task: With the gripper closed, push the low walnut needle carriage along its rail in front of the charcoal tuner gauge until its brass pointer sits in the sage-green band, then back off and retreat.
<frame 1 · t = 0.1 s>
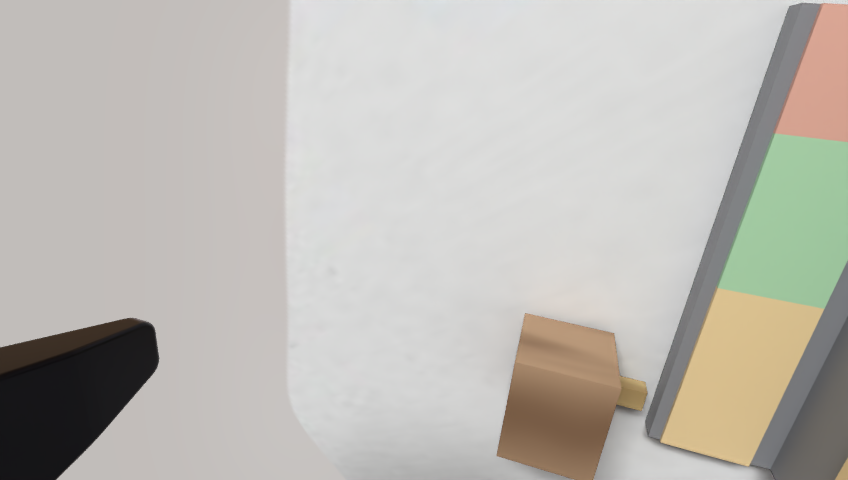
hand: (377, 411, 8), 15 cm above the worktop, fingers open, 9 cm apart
tuner gauge: (788, 266, 18), on the worktop
needle carriage: (577, 399, 21), point 2 cm above the worktop, slide at 0.0 cm
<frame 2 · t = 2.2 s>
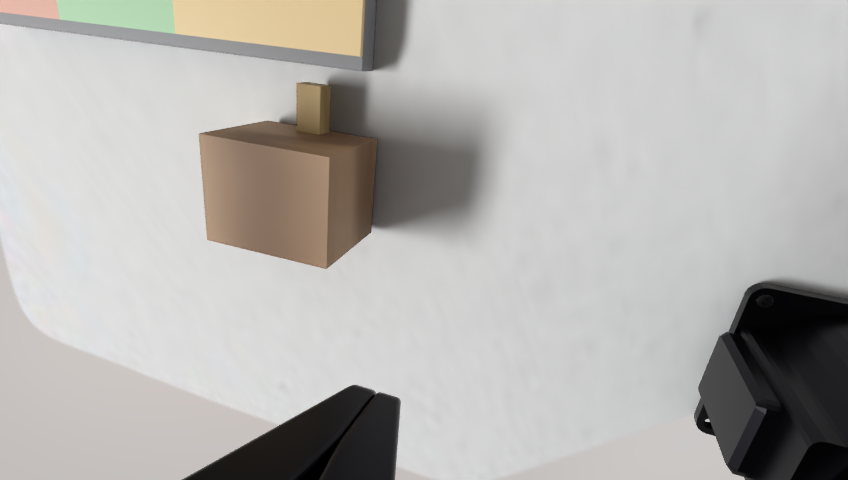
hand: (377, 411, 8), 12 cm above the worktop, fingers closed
needle carriage: (294, 165, 18), point 2 cm above the worktop, slide at 0.0 cm
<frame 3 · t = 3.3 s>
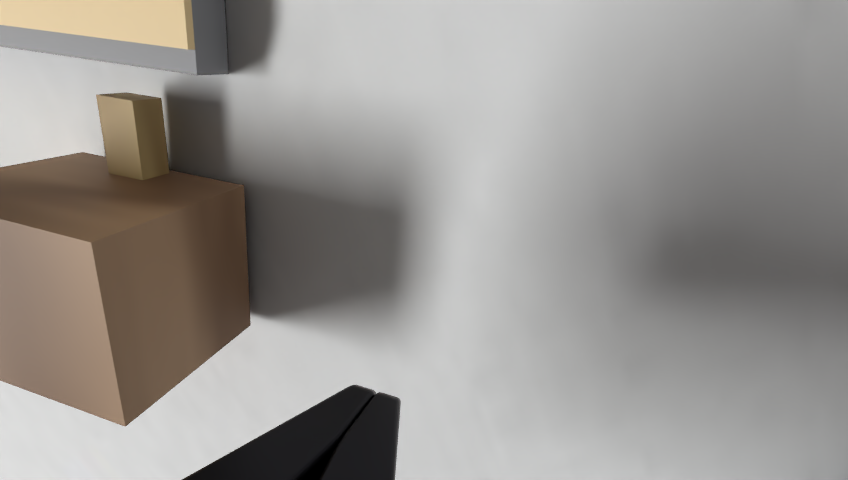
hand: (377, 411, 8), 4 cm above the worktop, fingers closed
needle carriage: (94, 233, 11), point 2 cm above the worktop, slide at 0.0 cm
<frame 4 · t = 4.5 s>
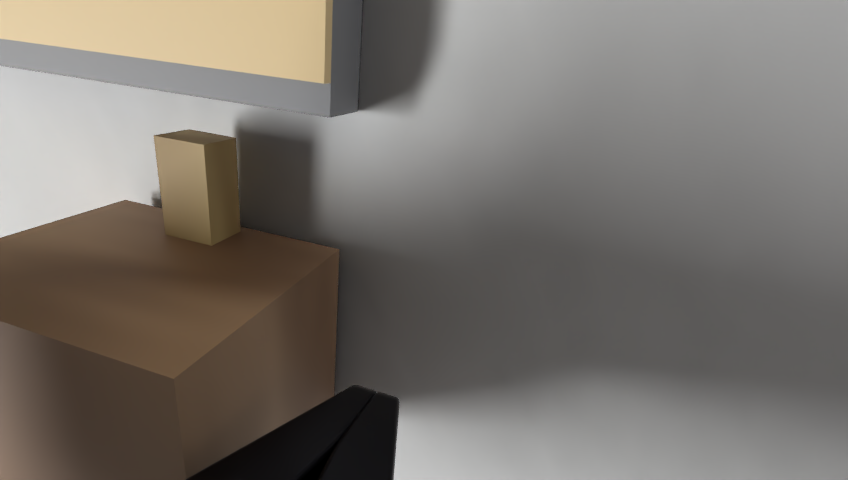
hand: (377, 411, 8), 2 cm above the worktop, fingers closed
needle carriage: (150, 319, 8), point 2 cm above the worktop, slide at 0.6 cm, touching gripper
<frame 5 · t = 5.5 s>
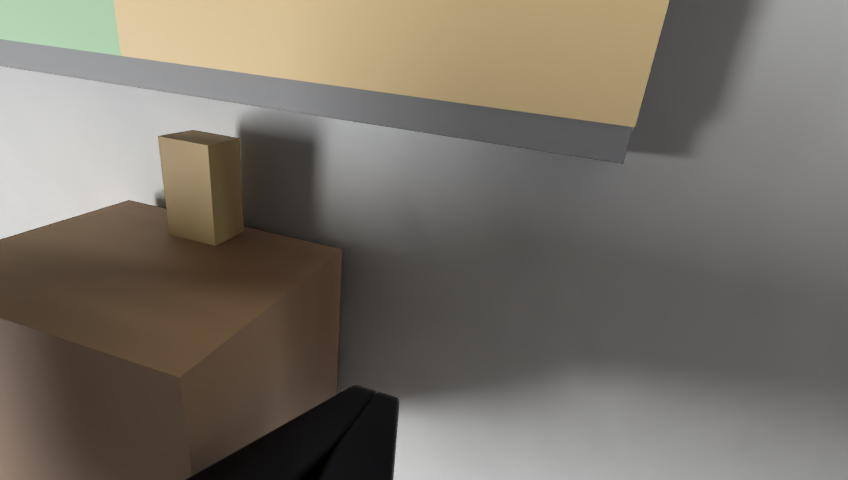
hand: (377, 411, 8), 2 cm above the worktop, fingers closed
needle carriage: (154, 318, 8), point 2 cm above the worktop, slide at 4.8 cm, touching gripper
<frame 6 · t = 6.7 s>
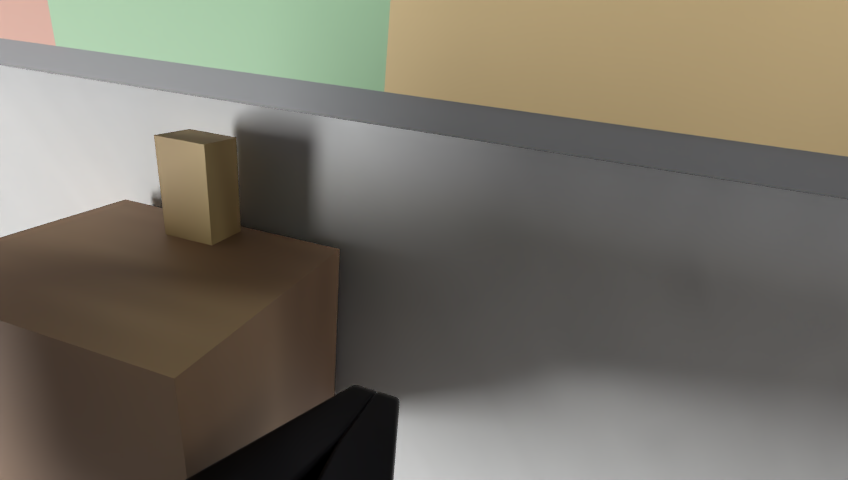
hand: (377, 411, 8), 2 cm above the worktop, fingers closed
needle carriage: (150, 319, 8), point 2 cm above the worktop, slide at 9.5 cm, touching gripper
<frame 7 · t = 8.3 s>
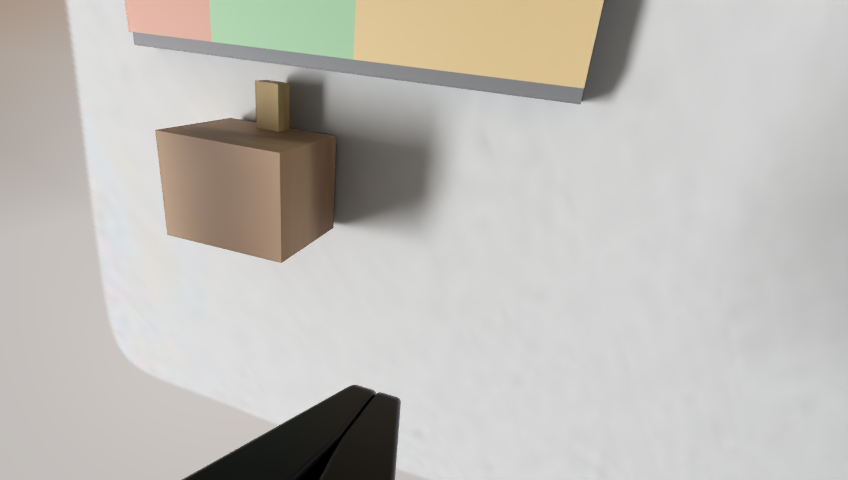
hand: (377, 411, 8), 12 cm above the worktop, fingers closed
needle carriage: (252, 161, 18), point 2 cm above the worktop, slide at 9.5 cm
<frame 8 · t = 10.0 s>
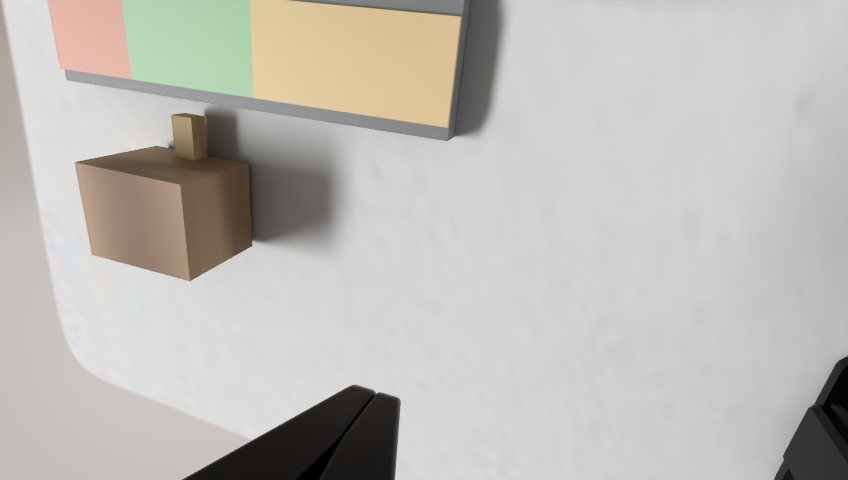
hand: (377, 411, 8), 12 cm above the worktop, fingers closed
tuner gauge: (248, 28, 19), on the worktop
needle carriage: (169, 188, 20), point 2 cm above the worktop, slide at 9.5 cm
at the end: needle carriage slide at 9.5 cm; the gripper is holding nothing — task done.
